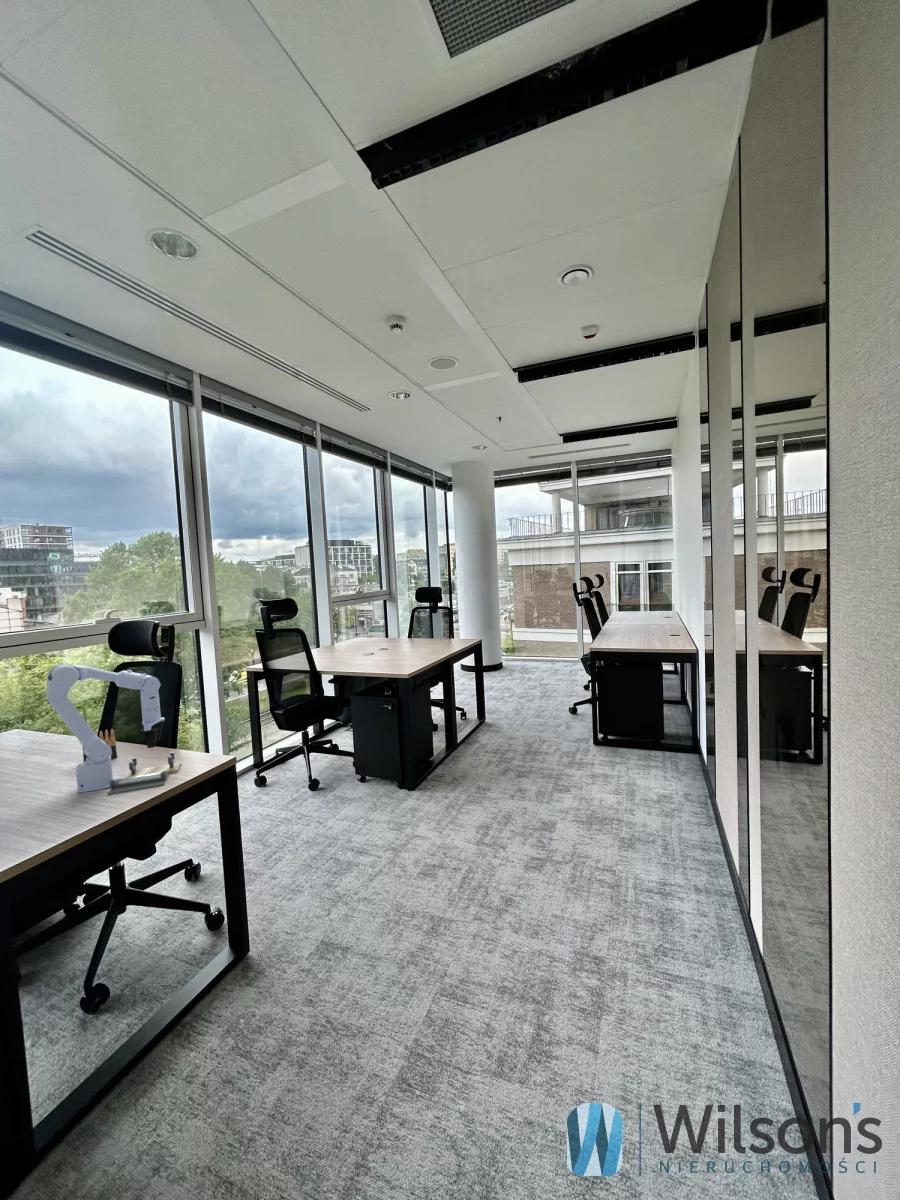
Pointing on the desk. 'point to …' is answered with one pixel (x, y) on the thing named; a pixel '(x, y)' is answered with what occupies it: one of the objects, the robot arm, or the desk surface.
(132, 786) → the rubber mat
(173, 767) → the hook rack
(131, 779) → the rail
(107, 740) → the ammunition clip
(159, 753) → the desk surface
